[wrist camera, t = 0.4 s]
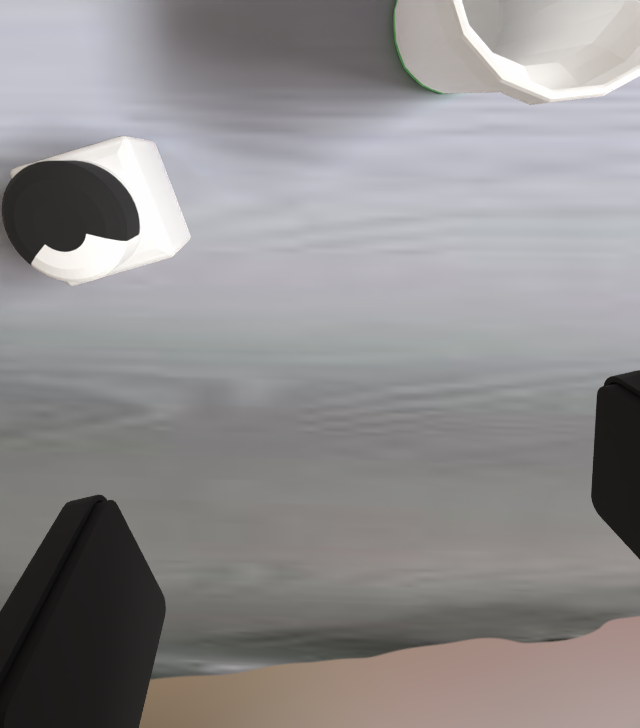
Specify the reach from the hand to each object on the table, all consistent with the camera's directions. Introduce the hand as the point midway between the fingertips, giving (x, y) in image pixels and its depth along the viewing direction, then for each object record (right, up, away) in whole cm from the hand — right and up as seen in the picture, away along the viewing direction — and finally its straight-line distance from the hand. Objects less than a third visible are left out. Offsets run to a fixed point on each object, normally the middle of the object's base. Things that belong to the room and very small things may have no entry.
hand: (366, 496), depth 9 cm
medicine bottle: (-15, +14, +25) cm, 33 cm away
